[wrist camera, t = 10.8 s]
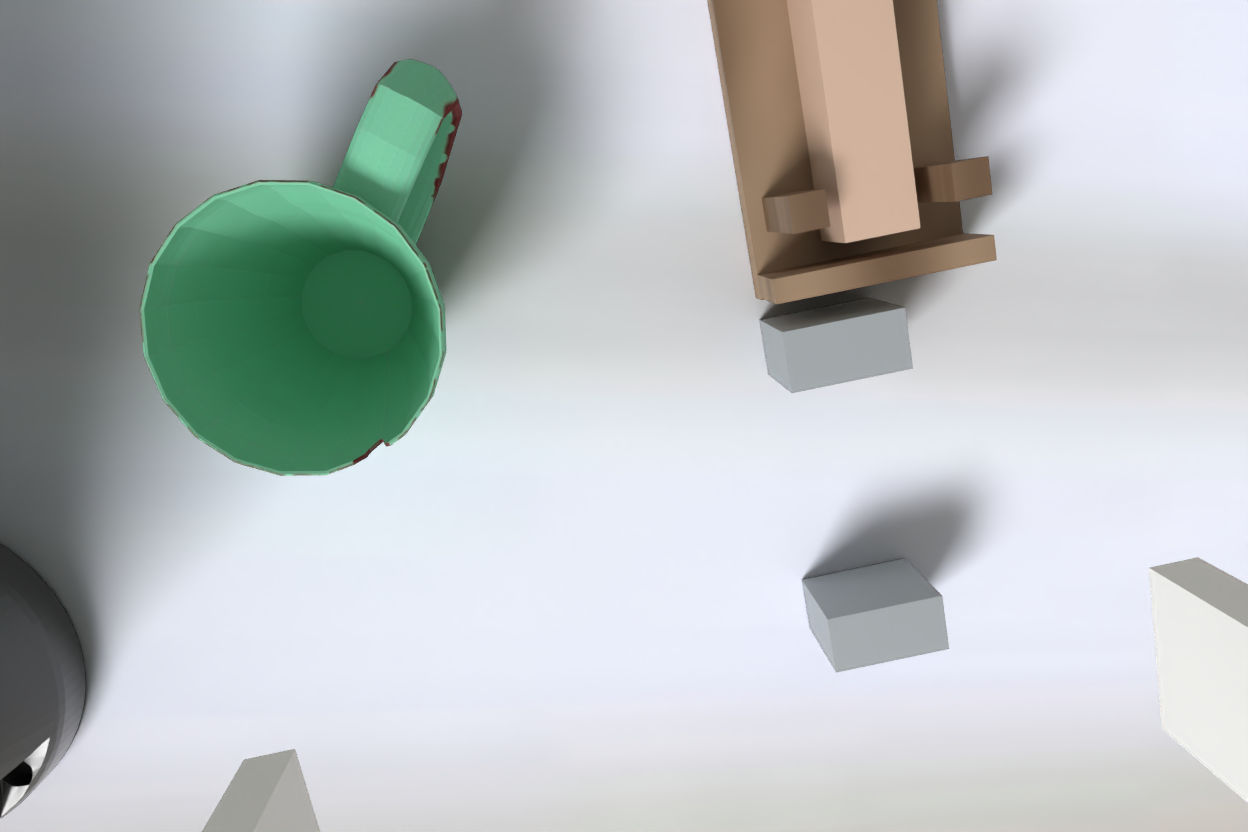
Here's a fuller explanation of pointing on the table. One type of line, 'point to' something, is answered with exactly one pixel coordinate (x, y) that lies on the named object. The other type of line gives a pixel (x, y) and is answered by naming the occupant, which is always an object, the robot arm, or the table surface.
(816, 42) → the clay strip
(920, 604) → the grey blocks
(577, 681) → the table surface
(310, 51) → the table surface
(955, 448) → the table surface
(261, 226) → the mug
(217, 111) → the table surface
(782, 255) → the rack
